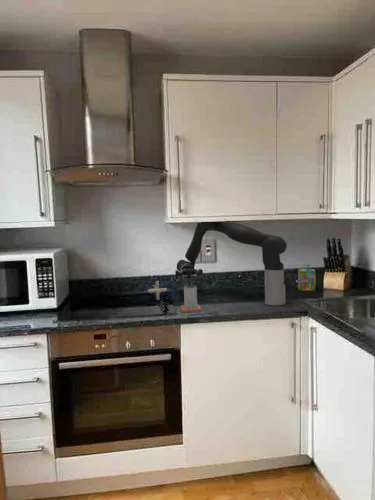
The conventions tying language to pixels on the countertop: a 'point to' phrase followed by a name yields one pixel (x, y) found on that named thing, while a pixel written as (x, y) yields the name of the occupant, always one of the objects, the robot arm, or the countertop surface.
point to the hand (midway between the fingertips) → (189, 274)
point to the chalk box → (307, 279)
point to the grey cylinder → (190, 297)
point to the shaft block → (190, 309)
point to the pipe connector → (157, 290)
